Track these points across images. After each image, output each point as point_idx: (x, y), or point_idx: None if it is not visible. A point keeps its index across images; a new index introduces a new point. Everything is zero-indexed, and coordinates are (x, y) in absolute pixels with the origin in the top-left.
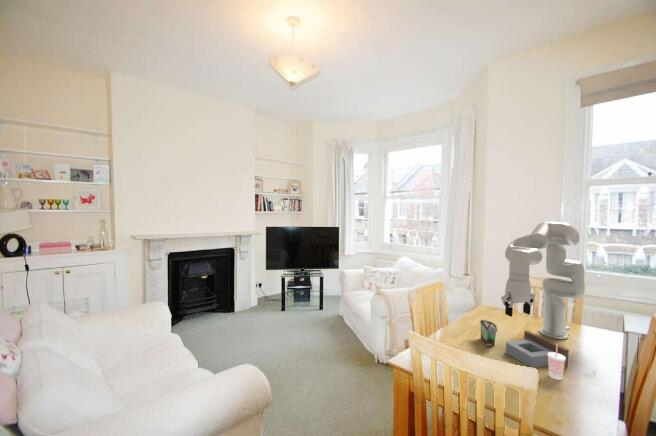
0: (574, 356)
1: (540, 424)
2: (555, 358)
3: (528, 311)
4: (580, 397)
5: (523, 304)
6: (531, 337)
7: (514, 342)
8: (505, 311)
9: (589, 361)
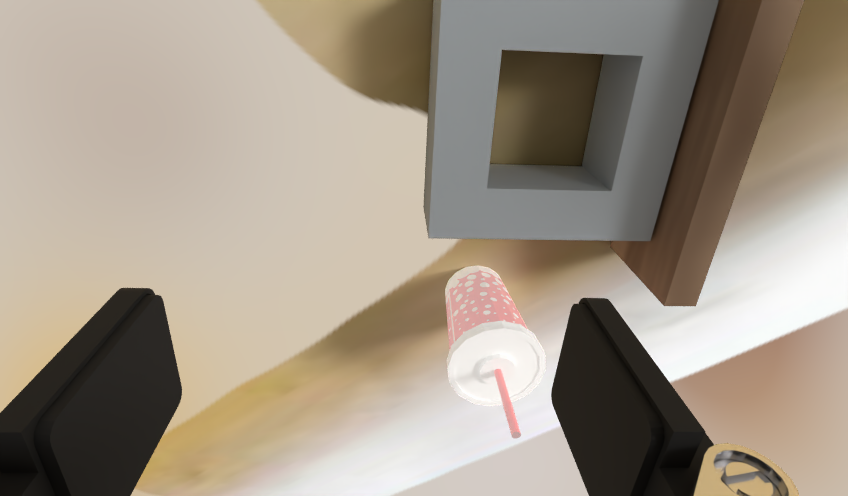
0: (827, 169)
1: None
2: (453, 388)
3: (567, 435)
4: (414, 411)
5: (650, 428)
6: (737, 10)
7: (521, 2)
8: (93, 319)
9: (824, 233)
